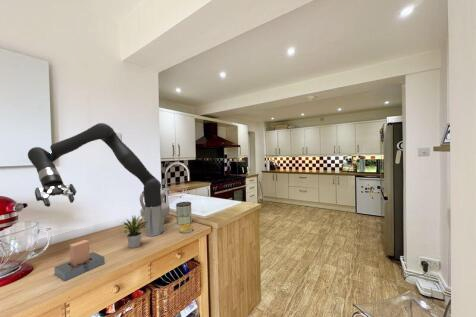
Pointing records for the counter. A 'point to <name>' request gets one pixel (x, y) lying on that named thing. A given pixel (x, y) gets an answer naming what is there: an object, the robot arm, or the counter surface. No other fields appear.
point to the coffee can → (183, 213)
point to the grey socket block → (78, 267)
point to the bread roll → (185, 228)
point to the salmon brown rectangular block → (79, 253)
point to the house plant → (134, 232)
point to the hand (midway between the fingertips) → (61, 203)
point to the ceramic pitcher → (164, 205)
